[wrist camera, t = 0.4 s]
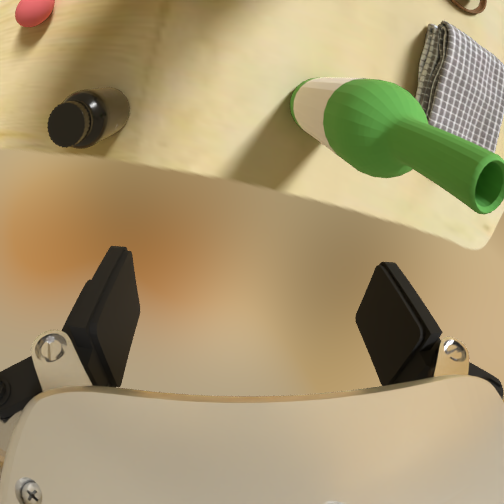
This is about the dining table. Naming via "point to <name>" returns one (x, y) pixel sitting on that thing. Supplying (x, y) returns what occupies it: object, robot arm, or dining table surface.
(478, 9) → the place setting
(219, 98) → the dining table surface
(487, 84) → the towel
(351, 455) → the robot arm
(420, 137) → the wine bottle
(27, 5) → the ball
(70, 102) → the supplement bottle
